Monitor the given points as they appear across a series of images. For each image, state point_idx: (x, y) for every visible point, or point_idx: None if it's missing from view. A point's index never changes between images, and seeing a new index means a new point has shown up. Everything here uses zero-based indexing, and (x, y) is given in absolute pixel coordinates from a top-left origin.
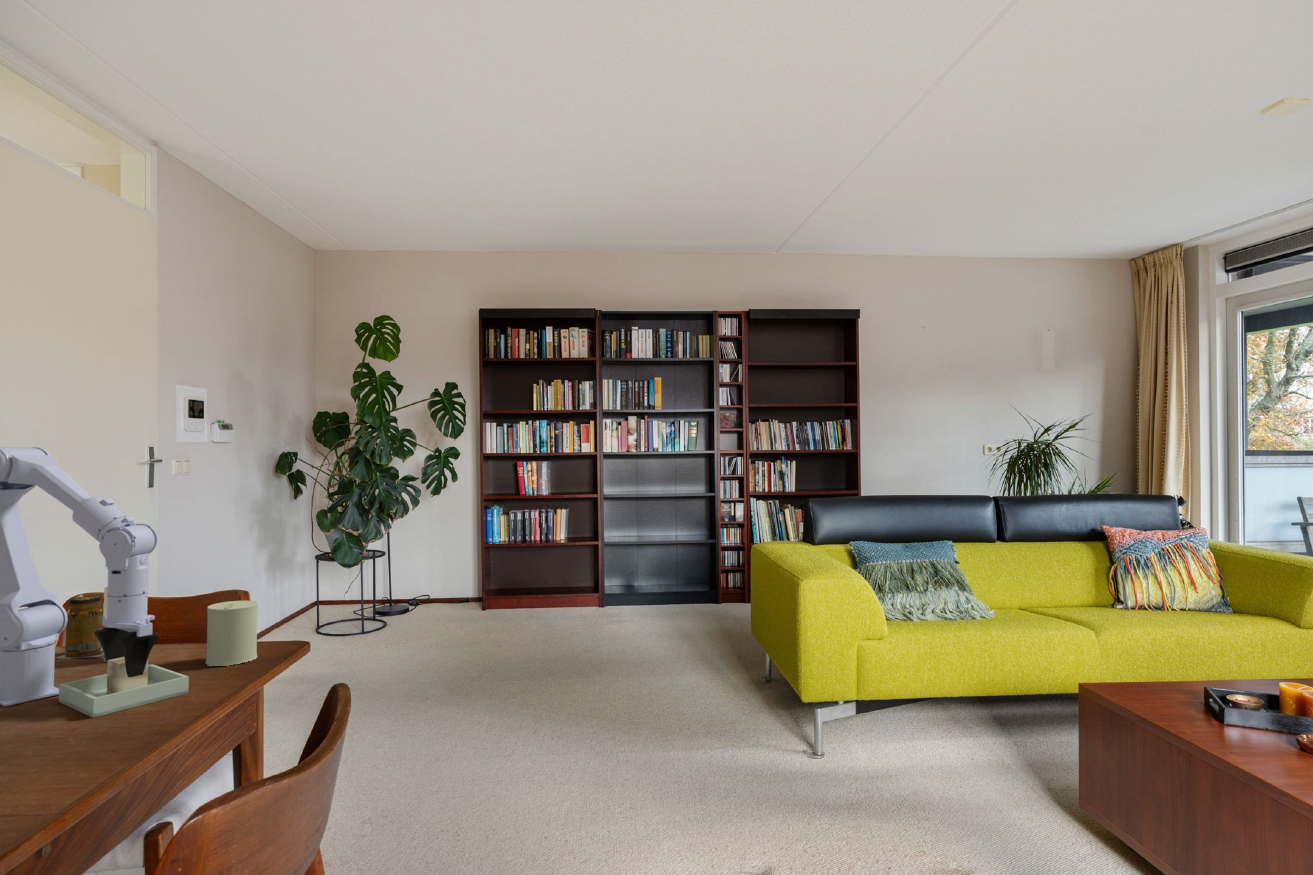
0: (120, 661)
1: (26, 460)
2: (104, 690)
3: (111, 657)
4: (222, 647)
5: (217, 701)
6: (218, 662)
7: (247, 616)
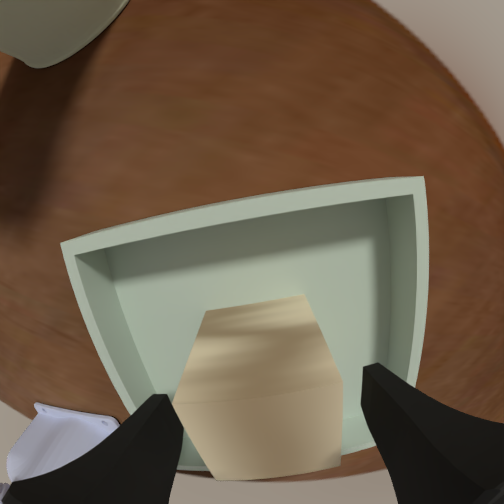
0: (292, 463)
1: None
2: (167, 376)
3: (170, 465)
4: None
5: (495, 159)
6: (95, 24)
7: None
